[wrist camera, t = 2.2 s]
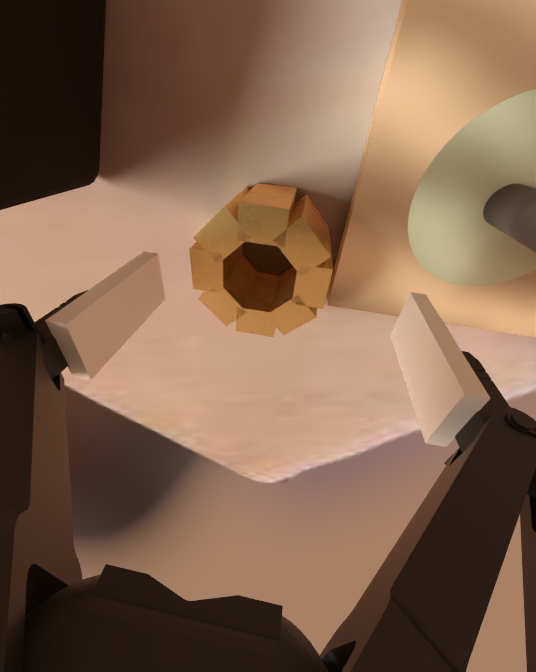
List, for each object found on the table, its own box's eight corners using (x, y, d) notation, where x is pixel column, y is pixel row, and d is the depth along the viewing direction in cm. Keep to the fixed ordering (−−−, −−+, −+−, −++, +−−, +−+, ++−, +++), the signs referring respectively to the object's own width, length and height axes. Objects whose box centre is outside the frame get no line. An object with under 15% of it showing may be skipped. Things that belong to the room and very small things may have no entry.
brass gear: (215, 177, 17) (184, 195, 13) (340, 193, 16) (346, 216, 12) (219, 287, 22) (196, 324, 18) (315, 302, 21) (314, 343, 17)
